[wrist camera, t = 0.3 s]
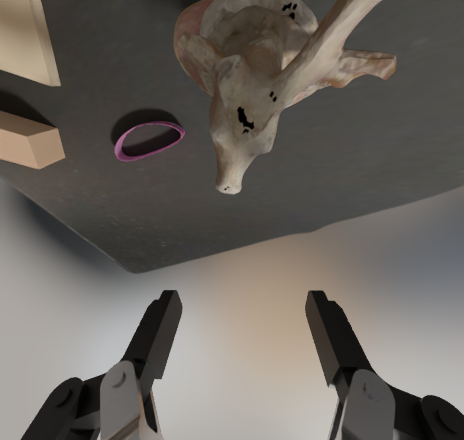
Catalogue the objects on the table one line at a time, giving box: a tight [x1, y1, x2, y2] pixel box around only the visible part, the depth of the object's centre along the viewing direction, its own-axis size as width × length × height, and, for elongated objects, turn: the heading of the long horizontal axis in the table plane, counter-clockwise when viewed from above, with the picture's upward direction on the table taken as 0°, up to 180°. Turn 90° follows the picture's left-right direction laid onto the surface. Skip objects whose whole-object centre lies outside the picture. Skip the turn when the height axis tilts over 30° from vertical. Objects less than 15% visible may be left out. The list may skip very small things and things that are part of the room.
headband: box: [115, 121, 185, 161], centre depth 26 cm, size 11×4×2 cm, turn 109°
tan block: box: [0, 111, 65, 169], centre depth 25 cm, size 4×12×5 cm, turn 72°
